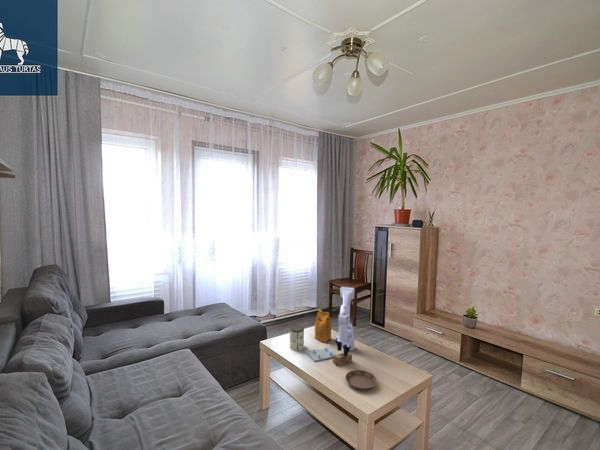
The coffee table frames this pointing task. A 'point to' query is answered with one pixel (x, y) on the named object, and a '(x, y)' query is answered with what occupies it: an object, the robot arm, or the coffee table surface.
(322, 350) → the peg board
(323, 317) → the coffee package
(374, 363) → the coffee table surface
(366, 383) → the plant saucer
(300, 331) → the coffee can
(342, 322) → the robot arm
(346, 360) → the walnut bar
